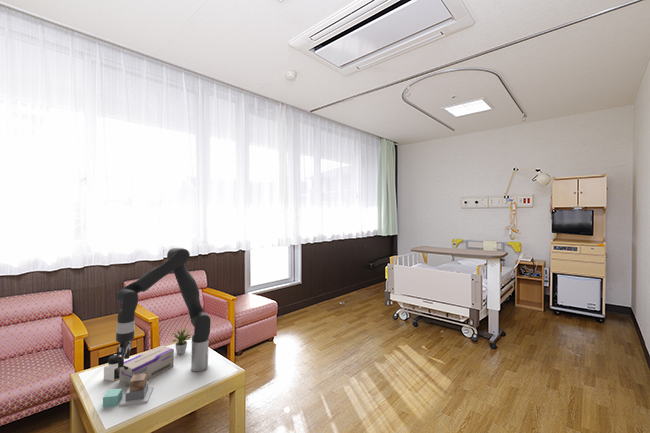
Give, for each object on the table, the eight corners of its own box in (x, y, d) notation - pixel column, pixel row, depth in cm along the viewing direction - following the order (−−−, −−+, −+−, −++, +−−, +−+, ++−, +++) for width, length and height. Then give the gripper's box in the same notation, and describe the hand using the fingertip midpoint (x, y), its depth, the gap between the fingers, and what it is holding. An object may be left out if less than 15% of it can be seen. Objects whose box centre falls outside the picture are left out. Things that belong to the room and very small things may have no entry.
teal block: (122, 398, 151) (122, 388, 150) (117, 405, 145) (117, 395, 145) (108, 399, 149) (108, 389, 149) (102, 407, 143) (102, 397, 143)
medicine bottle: (114, 381, 164) (114, 360, 163) (103, 379, 165) (103, 358, 165) (125, 374, 171) (125, 353, 170) (114, 372, 172) (115, 352, 172)
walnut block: (146, 382, 156) (146, 373, 155) (143, 389, 150) (143, 379, 150) (133, 384, 154) (133, 374, 154) (129, 391, 148) (129, 381, 148)
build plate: (153, 388, 159) (153, 379, 159) (147, 402, 148) (147, 392, 148) (127, 391, 156) (127, 382, 156) (119, 406, 144) (119, 396, 144)
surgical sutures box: (131, 388, 158) (132, 368, 158) (119, 383, 163) (119, 363, 163) (173, 366, 181) (173, 349, 181) (161, 362, 186) (161, 345, 185)
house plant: (175, 361, 187) (175, 335, 186) (163, 354, 194) (163, 329, 194) (196, 352, 199) (196, 328, 198) (183, 346, 206) (184, 322, 206)
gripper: (129, 335, 142) (127, 369, 142) (138, 324, 156) (136, 355, 156) (111, 336, 140) (109, 370, 140) (121, 324, 153) (120, 356, 154)
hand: (123, 362), depth 148 cm, fingers open, 8 cm apart
